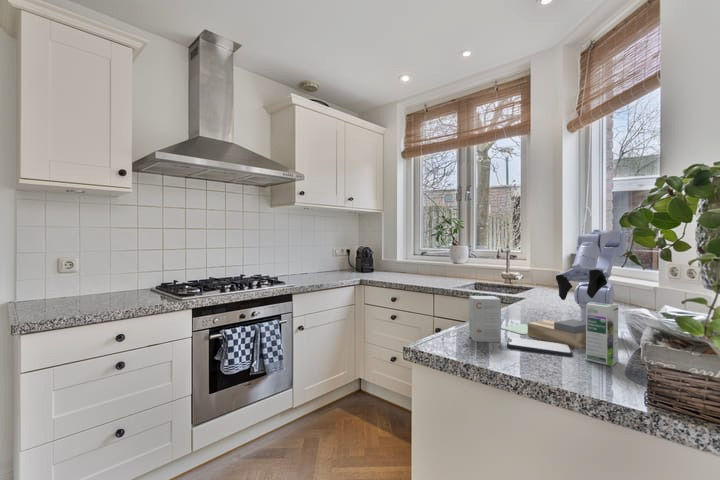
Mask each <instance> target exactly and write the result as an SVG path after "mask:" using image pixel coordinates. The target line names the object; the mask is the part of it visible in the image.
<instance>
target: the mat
mask: <svg viewBox="0 0 720 480" xmlns="http://www.w3.org/2000/svg"><path fill="white" fill-rule="evenodd" d="M501 330H504V331H507V332H511V333H515V334H518V335H522V336H524V335H528V324H524V323H520V324H514V325H507V326H501Z"/></svg>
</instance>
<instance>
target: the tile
mask: <svg viewBox="0 0 720 480" xmlns="http://www.w3.org/2000/svg"><path fill="white" fill-rule="evenodd" d="M554 329H557V330H561V331H565V332H569V333H573V334H576V333H581V332H586V322H583V321H580V319H579V320H578V319H572V318H571V319H565V320H560V321H555V322H554Z"/></svg>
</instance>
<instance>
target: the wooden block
mask: <svg viewBox="0 0 720 480" xmlns="http://www.w3.org/2000/svg"><path fill="white" fill-rule="evenodd" d="M554 322H556V321H555V320H551V319H544V320H543V319H542V320H537V321H533V322H532V321H531V322H527V325H528V334H527V336H529V337H531V338H532V337H533V338H536V339H540V340H542V341H543V340H544V341H545V342H552V343H559V344H566V345H569V346H570V348H571V349H574V350H575V349H579V348H583V347H584V348H585V347H586V332H581V333H576V334H573V333H569V332H565V331H561V330H557V329H554Z"/></svg>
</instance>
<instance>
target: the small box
mask: <svg viewBox="0 0 720 480" xmlns="http://www.w3.org/2000/svg"><path fill="white" fill-rule="evenodd" d="M501 306H502V301H501V298H499V297H497V296H495V295H469V296H468V329H469V330H468V335H469V337H471V338H472V339H471V338H470V339H471V340H472V341H473V342H474V341H475V342H477V341H478V342H477V343H479V342H480V343H484V342H485V343H501V342H502V329H501V327H502V319H501V318H502V316H501V315H502V307H501Z"/></svg>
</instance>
